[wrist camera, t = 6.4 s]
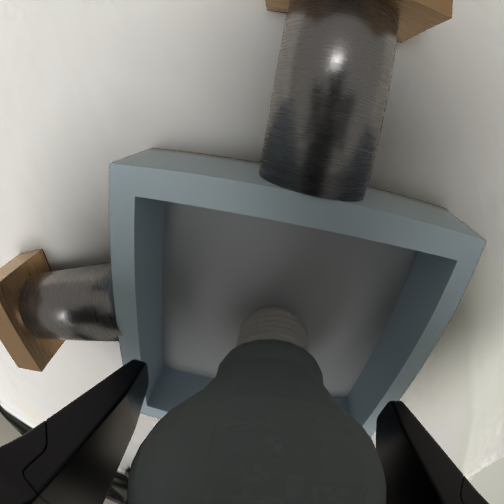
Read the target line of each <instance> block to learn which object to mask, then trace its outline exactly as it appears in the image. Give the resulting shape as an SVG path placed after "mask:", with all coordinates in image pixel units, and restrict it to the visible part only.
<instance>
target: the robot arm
mask: <svg viewBox="0 0 504 504" xmlns="http://www.w3.org/2000/svg"><path fill="white" fill-rule="evenodd" d="M148 384H149V376H148V366H147V363H146V362H144V361H140V360H137V359H133V360H131V361H129V362H128V363H127V364H125V365H124V366H122V367H121V368H120V369H118V370H117V371H115V372H114V373H113V374H111V375H110V376H108V377H107V378H105V379H104V380H103V381H101V382H100V383H98V384H97V385H96V386H94V387H93V388H91V389H90V390H88V391H87V392H86V393H84V394H83V395H81V396H80V397H78V398H77V399H76V400H74V401H73V402H71V403H70V404H68V405H67V406H66V407H64V408H63V409H61V410H60V411H58V412H57V413H56V414H54V415H53V416H51V417H50V418H48V419H47V420H46V421H44V422H42V423H41V424H39V425H38V426H36V427H35V428H33V429H32V430H30V431H29V432H27V433H26V434H24V435H22V436H21V437H19V438H17V439H15V440H13V441H12V442H10V443H8V444H5V445H3V446H1V447H0V504H103V502H104V500H105V498H106V495H107V493H108V491H109V488H110V486H111V483H112V481H113V479H114V476H115V474H116V472H117V469H118V467H119V465H120V462H121V460H122V458H123V456H124V453H125V451H126V449H127V446H128V444H129V442H130V440H131V437H132V435H133V433H134V430H135V427H136V424H137V421H138V418H139V414H140V411H141V408H142V405H143V401H144V398H145V395H146V392H147V388H148ZM376 451H377V453H378V455H379V458H380V461H381V464H382V467H383V471H384V476H385V481H386V504H489V503H488V502H487V501H486V500H485V499H484V498H483V497H482V496H481V495H480V494H479V493H478V492H477V491H476V489H475V488H474V487H473V486H472V485H471V483H470V482H469V481H468V480H467V479H466V477H465V476H463V474H462V473H461V471H460V470H459V469H458V468H457V467H456V465H455V464H454V463H453V462H452V460H451V459H450V458H449V457H448V456H447V454H446V453H445V452H444V451H443V450H442V448H441V447H440V446H439V445H438V444H437V442H436V441H435V440H434V439H433V438H432V436H431V435H430V434H429V433H428V432H427V430H426V429H425V428H424V427H423V426H422V424H421V423H420V422H419V421H418V420H417V418H416V417H415V416H414V415H413V414H412V412H411V411H410V410H409V409H408V408H407V407H406V405H405V404H404V403H403V402H402V401H389V402H388V403H387V404H386V406H385V407H384V408H383V410H382V411H381V412H380V414H379V415H378V417H377V421H376ZM129 473H130V469H126V471H125V474H126V476H127V478H128V477H129ZM125 504H128V499H127V500H126V503H125Z"/></svg>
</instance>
